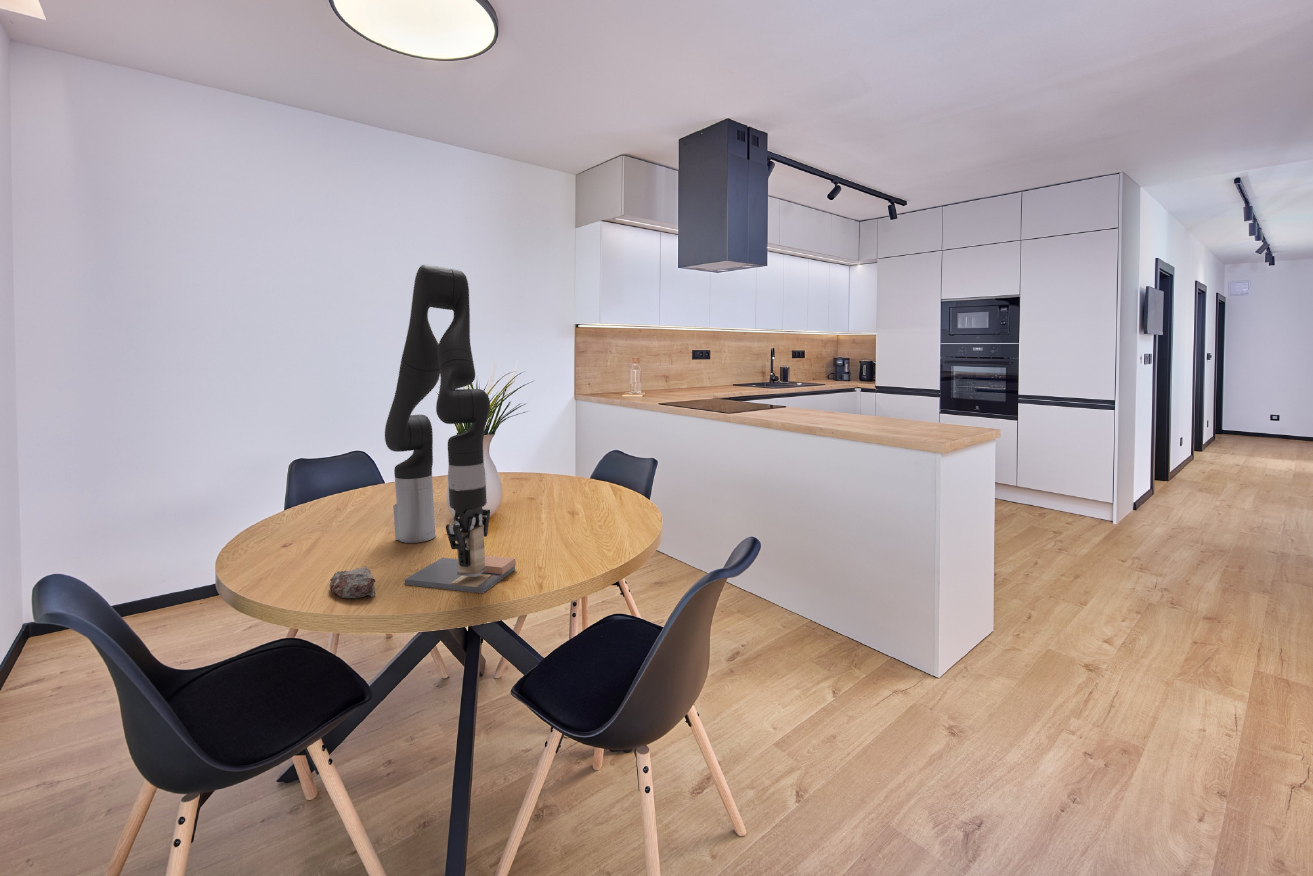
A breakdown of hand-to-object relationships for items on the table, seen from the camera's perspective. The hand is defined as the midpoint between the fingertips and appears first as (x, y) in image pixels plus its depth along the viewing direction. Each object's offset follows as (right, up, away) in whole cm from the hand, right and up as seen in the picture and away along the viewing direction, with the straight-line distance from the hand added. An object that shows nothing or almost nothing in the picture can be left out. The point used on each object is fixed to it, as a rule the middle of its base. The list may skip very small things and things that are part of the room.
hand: (471, 562), depth 128 cm
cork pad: (0, -4, +1) cm, 4 cm away
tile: (-1, -2, +8) cm, 9 cm away
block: (0, -2, 0) cm, 2 cm away
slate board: (-4, -4, +6) cm, 8 cm away
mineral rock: (-24, -6, -2) cm, 25 cm away
